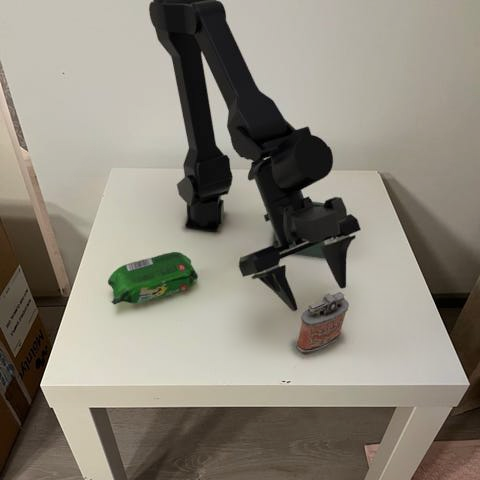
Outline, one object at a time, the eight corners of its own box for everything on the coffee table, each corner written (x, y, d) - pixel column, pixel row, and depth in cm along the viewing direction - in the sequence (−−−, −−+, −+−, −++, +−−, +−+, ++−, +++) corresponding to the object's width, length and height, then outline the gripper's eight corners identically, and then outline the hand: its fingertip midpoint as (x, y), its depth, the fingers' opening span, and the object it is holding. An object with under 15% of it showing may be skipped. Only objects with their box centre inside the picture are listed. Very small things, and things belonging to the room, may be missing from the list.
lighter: (331, 325, 80) (343, 281, 73) (344, 339, 78) (357, 296, 71) (291, 343, 77) (298, 300, 70) (303, 358, 76) (312, 315, 68)
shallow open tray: (272, 250, 93) (273, 235, 90) (280, 212, 101) (281, 197, 98) (338, 260, 91) (341, 245, 89) (341, 220, 100) (344, 205, 97)
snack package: (105, 289, 85) (99, 267, 81) (189, 264, 89) (187, 242, 85) (116, 317, 80) (111, 295, 76) (203, 289, 85) (203, 267, 81)
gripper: (253, 205, 60) (297, 322, 62) (366, 164, 67) (402, 271, 69) (220, 223, 70) (259, 323, 72) (321, 187, 77) (354, 279, 79)
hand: (319, 299), depth 73 cm, fingers open, 9 cm apart
